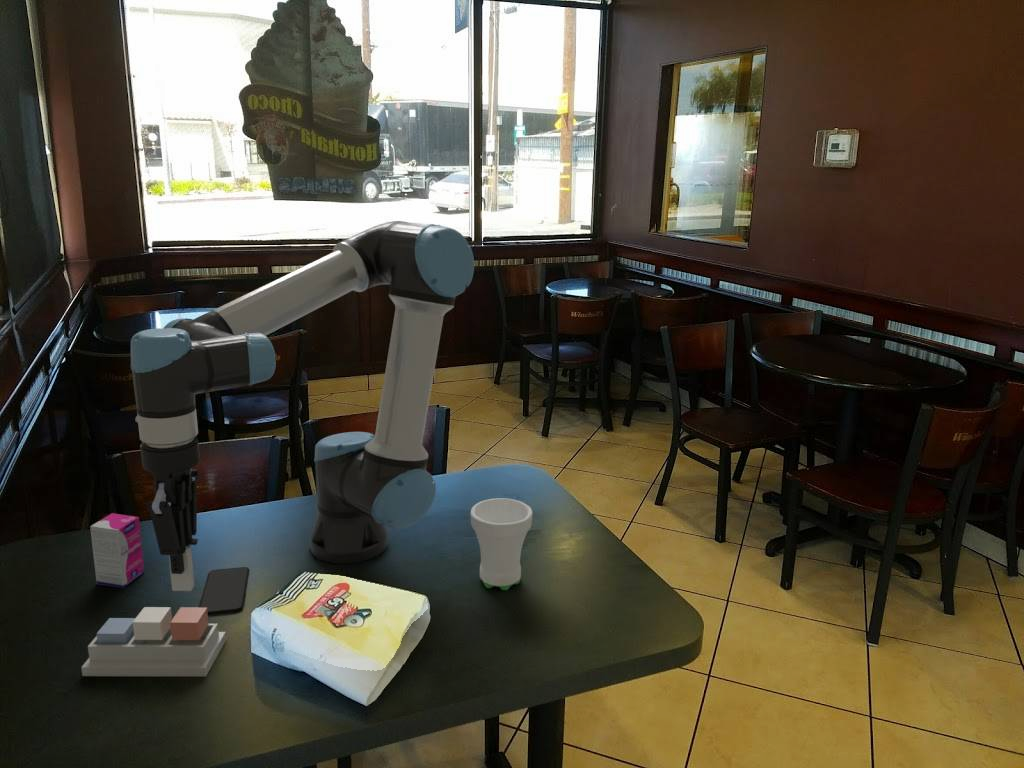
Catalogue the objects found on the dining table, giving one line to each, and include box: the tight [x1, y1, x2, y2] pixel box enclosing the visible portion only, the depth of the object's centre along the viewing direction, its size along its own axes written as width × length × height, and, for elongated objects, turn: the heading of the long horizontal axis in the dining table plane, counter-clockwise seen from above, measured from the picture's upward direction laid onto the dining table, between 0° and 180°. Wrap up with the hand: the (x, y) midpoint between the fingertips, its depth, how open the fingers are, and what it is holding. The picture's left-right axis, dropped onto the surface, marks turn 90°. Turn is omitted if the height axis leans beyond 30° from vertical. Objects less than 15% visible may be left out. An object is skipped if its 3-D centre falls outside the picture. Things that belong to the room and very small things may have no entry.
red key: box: [170, 606, 210, 640], centre depth 115 cm, size 4×4×3 cm
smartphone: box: [198, 566, 250, 616], centre depth 135 cm, size 7×1×15 cm
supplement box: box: [89, 512, 145, 589], centre depth 137 cm, size 6×6×12 cm
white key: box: [133, 606, 173, 640], centre depth 115 cm, size 4×4×3 cm
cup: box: [470, 497, 533, 591], centre depth 139 cm, size 11×11×14 cm
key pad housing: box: [80, 623, 227, 678], centre depth 116 cm, size 18×9×4 cm, turn 92°
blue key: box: [96, 617, 136, 645], centre depth 115 cm, size 4×4×3 cm
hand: (183, 588), depth 113 cm, fingers closed
